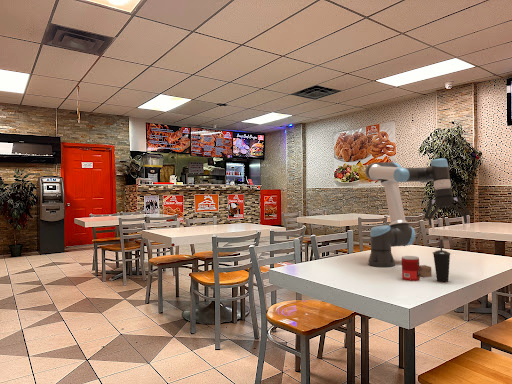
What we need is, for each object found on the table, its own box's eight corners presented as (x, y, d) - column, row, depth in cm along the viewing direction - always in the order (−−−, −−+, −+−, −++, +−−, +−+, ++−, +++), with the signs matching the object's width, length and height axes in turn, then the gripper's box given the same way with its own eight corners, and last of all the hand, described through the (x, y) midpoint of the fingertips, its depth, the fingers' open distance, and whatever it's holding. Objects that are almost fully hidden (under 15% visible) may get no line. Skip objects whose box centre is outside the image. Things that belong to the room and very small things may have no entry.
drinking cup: (430, 280, 173) (428, 239, 174) (441, 278, 176) (440, 238, 176) (443, 283, 166) (441, 241, 166) (455, 282, 169) (453, 239, 169)
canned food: (421, 281, 172) (420, 258, 172) (404, 280, 174) (403, 258, 174) (417, 277, 180) (416, 255, 180) (401, 277, 181) (400, 255, 182)
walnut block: (416, 275, 185) (416, 265, 185) (425, 274, 186) (424, 265, 186) (422, 277, 180) (422, 267, 180) (431, 276, 181) (431, 266, 181)
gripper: (415, 191, 184) (420, 232, 180) (471, 184, 170) (477, 228, 167) (417, 192, 190) (422, 232, 186) (471, 186, 177) (478, 229, 173)
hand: (448, 230), depth 177 cm, fingers open, 13 cm apart
